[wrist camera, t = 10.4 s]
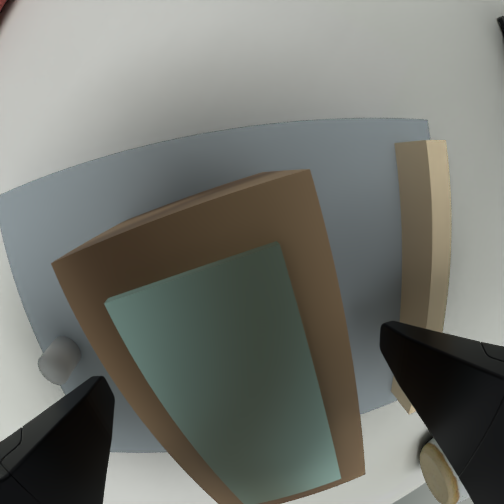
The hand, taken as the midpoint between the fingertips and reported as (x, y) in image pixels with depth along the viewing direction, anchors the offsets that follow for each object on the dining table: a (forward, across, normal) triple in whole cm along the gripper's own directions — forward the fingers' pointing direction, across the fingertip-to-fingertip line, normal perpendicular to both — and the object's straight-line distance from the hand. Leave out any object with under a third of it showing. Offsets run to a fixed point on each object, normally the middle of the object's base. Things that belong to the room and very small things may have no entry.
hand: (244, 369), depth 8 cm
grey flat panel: (+4, 0, 0) cm, 4 cm away
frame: (+3, 0, 0) cm, 3 cm away
